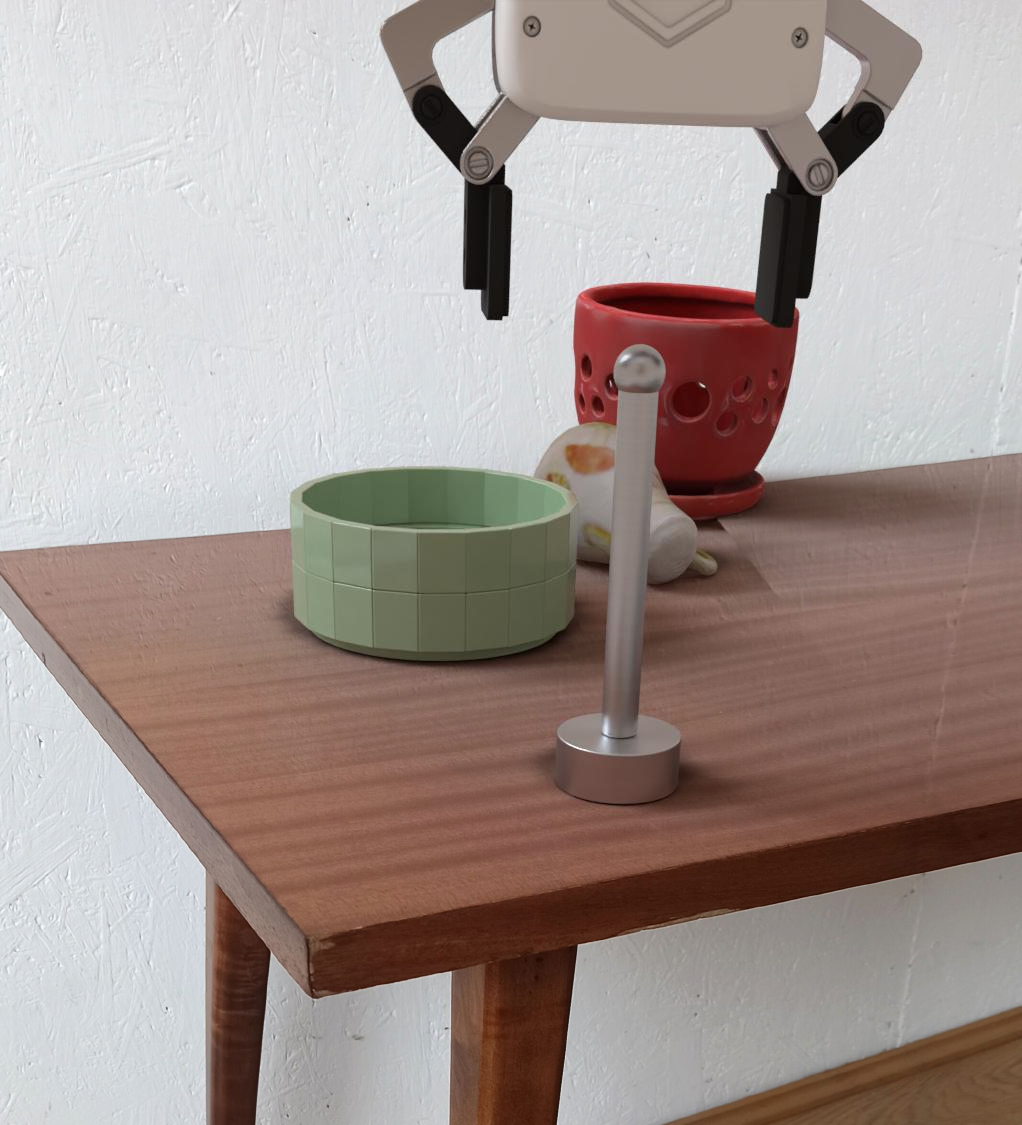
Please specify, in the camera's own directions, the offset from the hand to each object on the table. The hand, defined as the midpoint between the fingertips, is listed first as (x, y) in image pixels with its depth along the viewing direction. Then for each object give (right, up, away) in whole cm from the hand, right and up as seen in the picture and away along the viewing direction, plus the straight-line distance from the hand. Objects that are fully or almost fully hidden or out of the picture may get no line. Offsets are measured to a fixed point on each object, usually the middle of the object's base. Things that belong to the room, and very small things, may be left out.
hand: (634, 318), depth 60 cm
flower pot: (+6, +10, +48) cm, 50 cm away
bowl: (-8, -3, +27) cm, 28 cm away
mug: (+2, +2, +36) cm, 36 cm away
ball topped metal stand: (0, -14, +9) cm, 17 cm away
